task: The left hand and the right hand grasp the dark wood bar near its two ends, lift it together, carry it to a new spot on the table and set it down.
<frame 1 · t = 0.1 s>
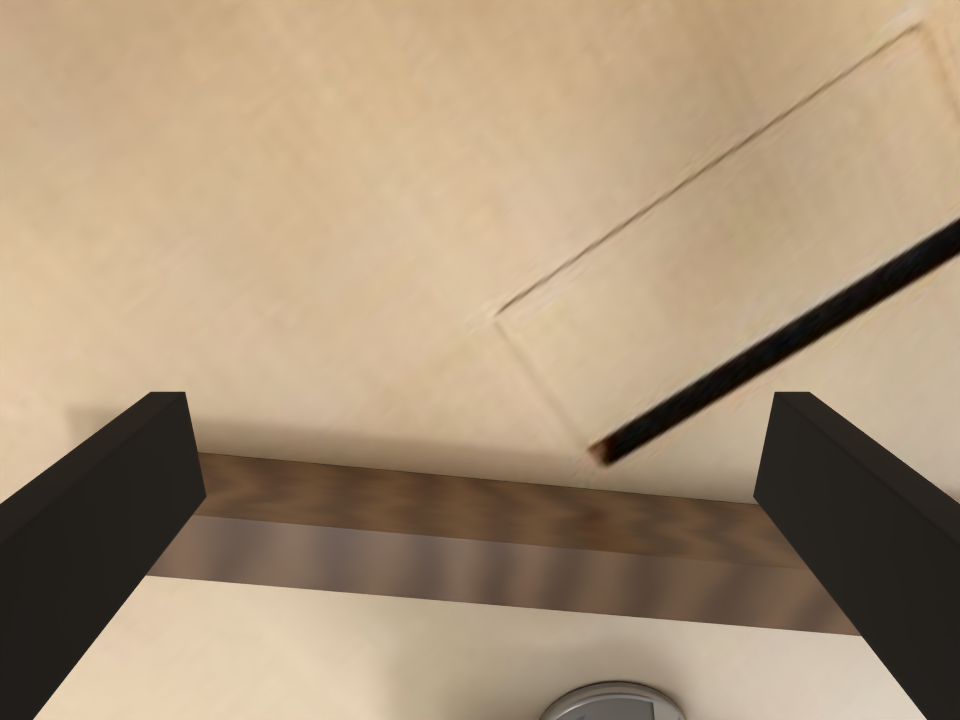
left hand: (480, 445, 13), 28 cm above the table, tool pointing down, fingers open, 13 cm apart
bar: (560, 515, 47), on the table
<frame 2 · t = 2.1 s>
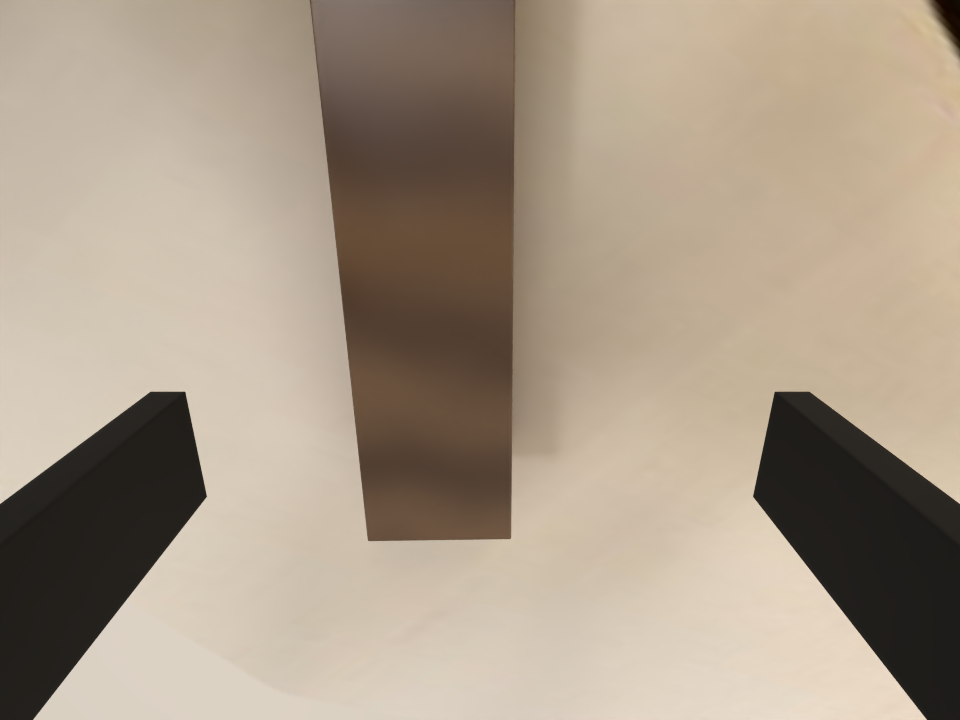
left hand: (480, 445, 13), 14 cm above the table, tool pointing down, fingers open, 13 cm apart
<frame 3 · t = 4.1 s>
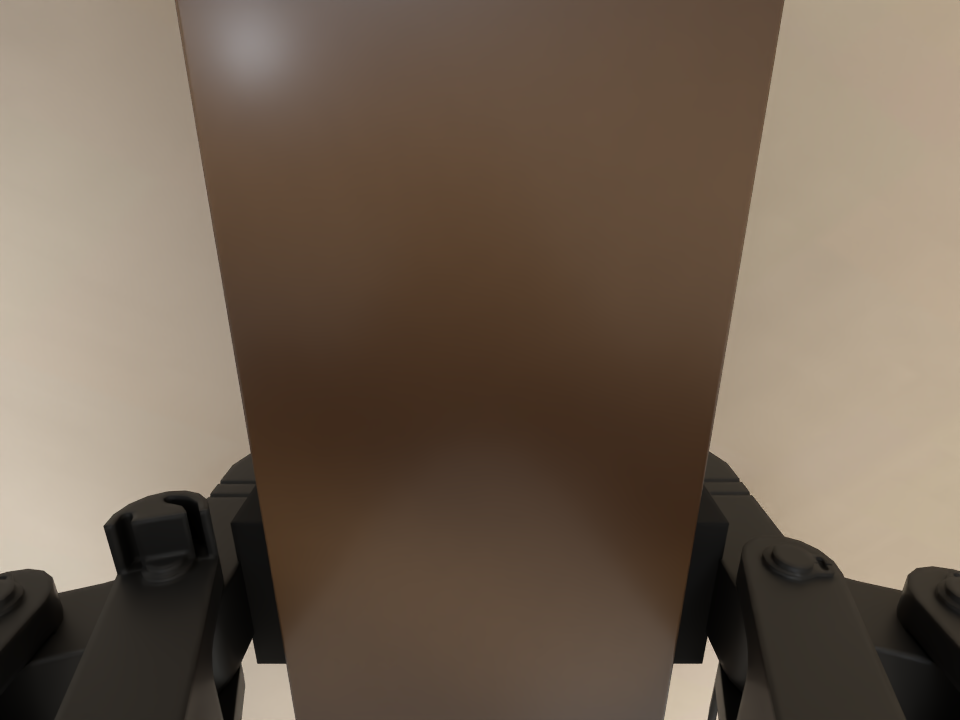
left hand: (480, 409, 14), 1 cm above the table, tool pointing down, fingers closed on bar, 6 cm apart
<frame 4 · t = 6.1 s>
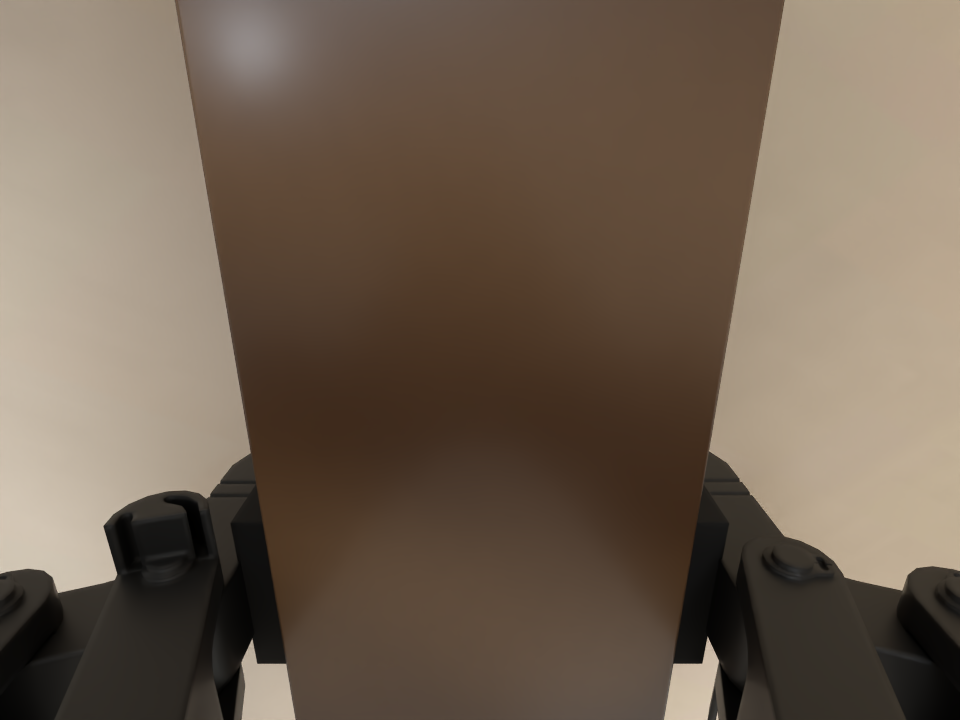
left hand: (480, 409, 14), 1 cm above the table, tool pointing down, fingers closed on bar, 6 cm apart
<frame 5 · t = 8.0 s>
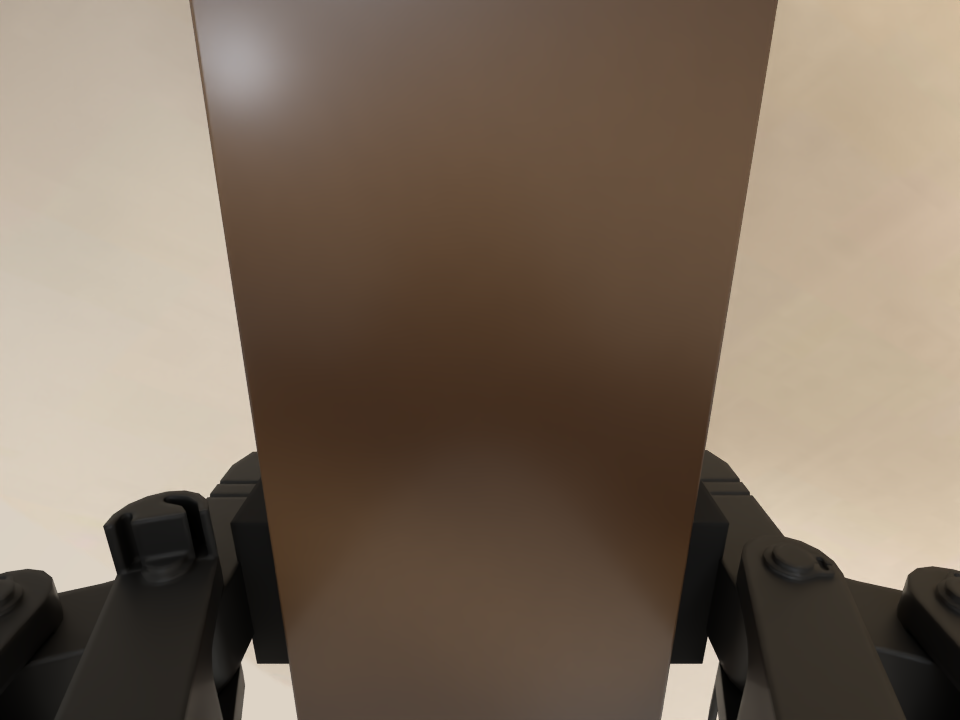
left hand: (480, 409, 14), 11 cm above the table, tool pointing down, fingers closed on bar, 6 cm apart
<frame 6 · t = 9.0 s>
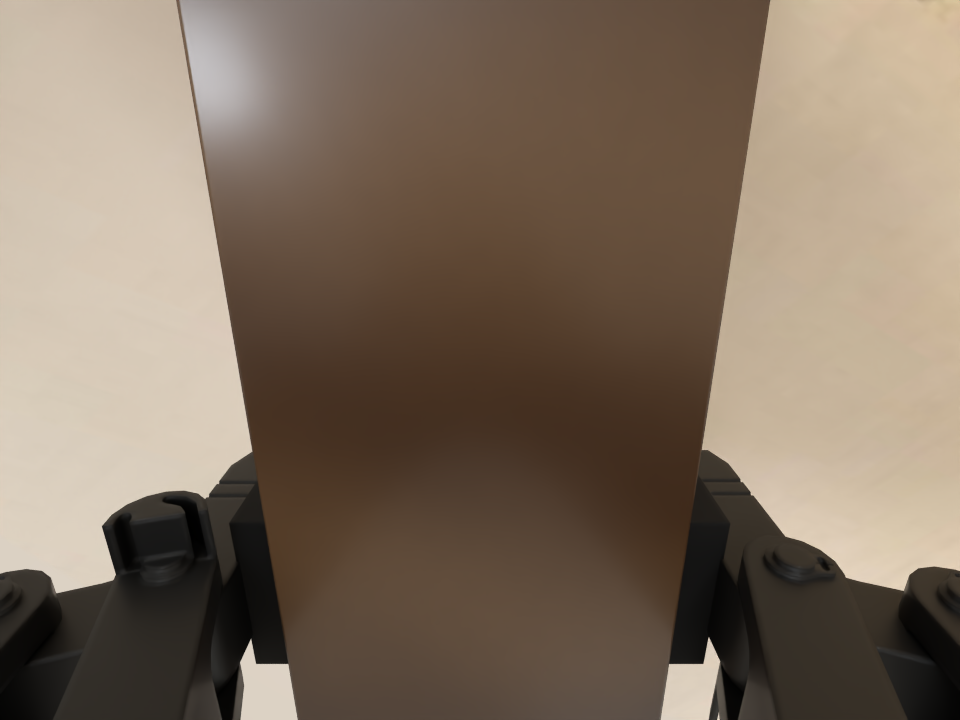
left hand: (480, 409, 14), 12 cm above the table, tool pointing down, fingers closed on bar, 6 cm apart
when the left hand's fingers open (2 cm above the table, at t = 11.8 s): bar drops 1 cm, held by the right hand.
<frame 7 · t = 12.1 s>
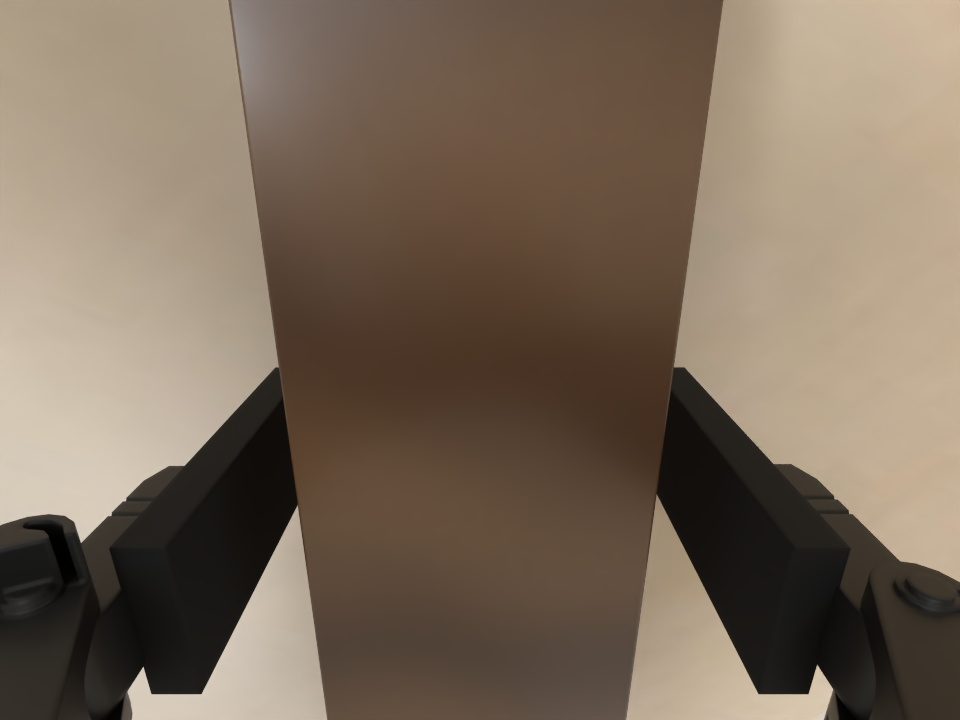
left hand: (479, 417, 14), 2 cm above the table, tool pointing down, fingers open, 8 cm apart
when the right hand's fingers open (4 cm above the table, at t = 12.1 s): bar stays where it is, on the table.
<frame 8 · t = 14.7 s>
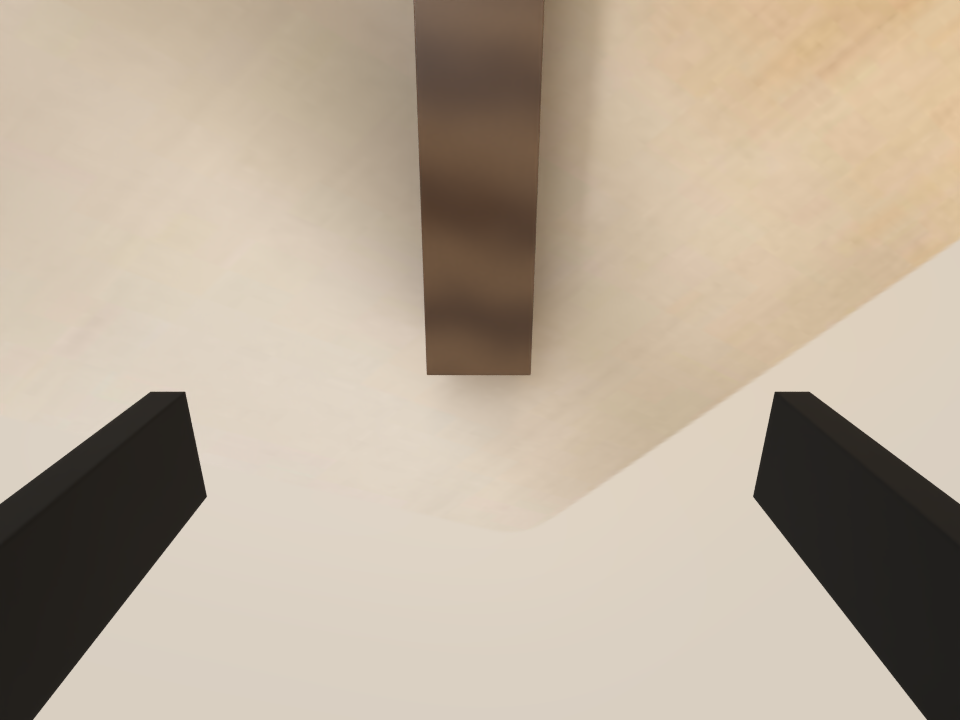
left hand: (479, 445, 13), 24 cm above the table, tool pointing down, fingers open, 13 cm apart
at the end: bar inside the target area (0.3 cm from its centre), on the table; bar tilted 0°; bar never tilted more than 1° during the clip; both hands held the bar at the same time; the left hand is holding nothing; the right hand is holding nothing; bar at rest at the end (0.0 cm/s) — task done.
